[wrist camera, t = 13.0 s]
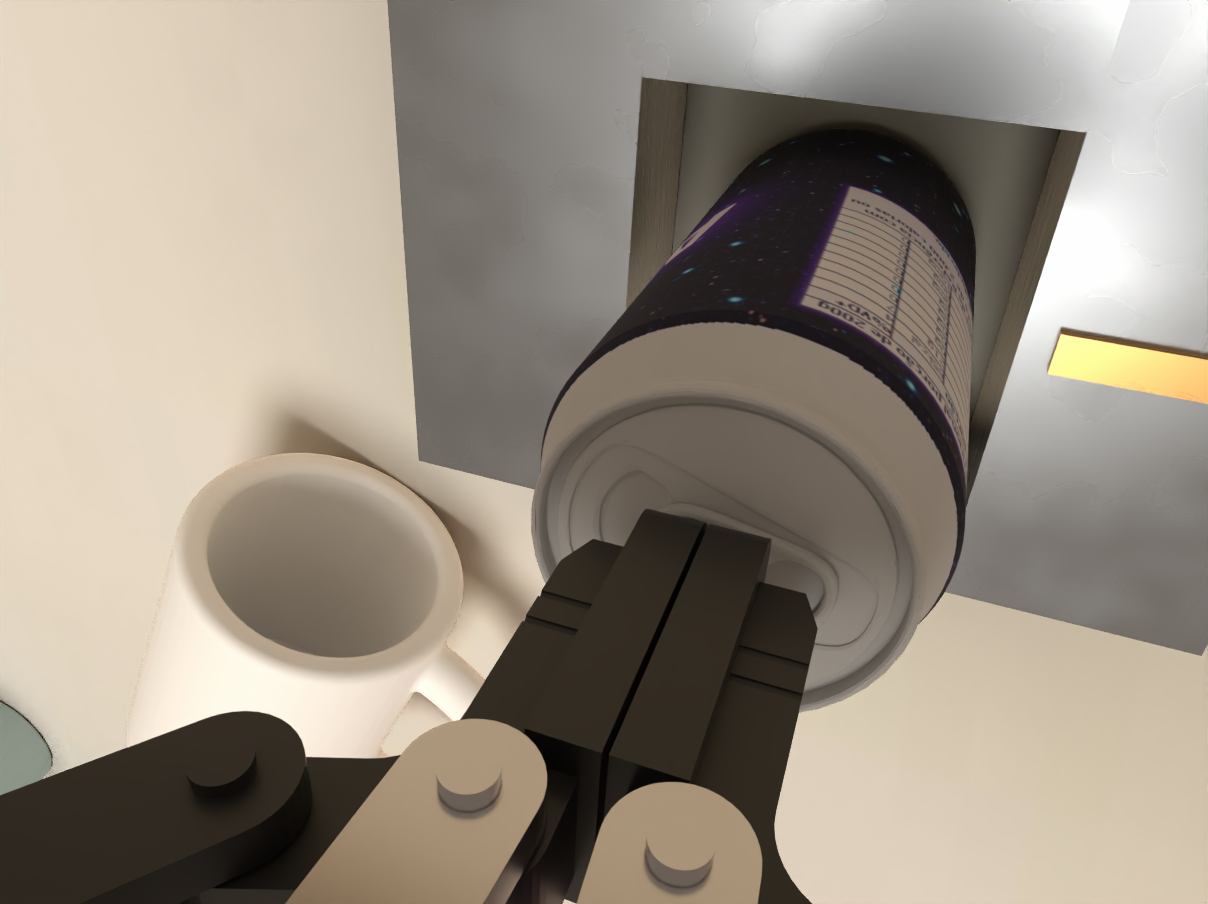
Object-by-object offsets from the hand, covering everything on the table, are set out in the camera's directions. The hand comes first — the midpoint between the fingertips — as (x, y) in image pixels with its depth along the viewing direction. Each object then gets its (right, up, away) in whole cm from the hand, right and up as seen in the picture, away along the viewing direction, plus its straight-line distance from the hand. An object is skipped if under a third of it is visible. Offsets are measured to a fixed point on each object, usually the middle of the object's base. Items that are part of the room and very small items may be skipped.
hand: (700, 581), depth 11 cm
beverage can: (+4, +6, +10) cm, 13 cm away
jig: (+4, +6, +10) cm, 12 cm away
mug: (-8, -4, +21) cm, 23 cm away
